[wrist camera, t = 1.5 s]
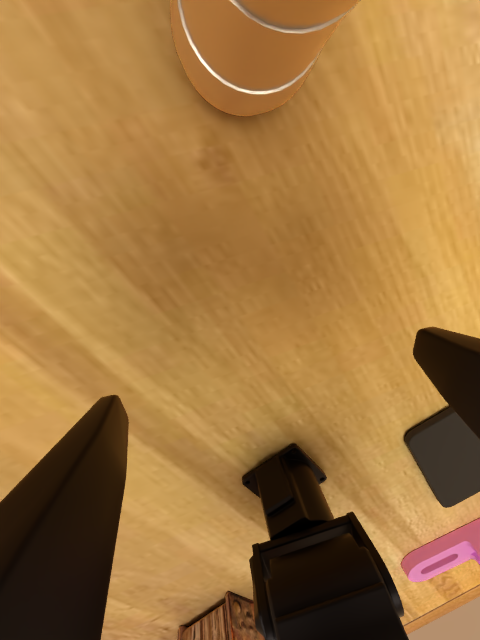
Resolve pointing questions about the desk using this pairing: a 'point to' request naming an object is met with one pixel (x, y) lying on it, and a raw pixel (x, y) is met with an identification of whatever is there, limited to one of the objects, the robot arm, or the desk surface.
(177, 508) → the desk surface
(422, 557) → the bracket
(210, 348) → the desk surface
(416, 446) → the phone
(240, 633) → the book
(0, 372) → the desk surface
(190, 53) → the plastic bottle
